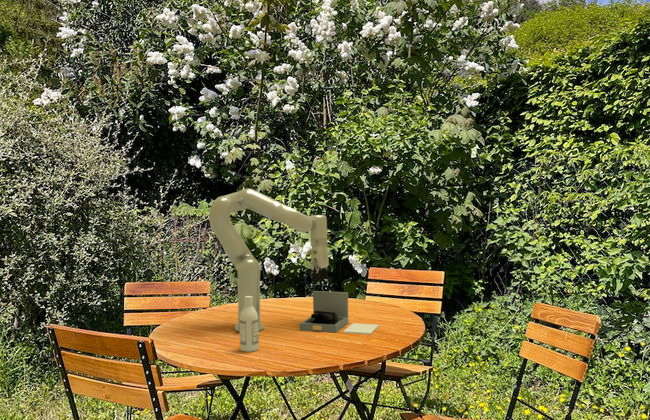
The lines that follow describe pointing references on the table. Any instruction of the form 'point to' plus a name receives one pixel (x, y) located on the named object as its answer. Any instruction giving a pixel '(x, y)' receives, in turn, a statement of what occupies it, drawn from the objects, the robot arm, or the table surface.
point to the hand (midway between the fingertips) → (319, 280)
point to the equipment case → (328, 304)
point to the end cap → (324, 317)
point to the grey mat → (361, 328)
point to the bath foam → (249, 327)
